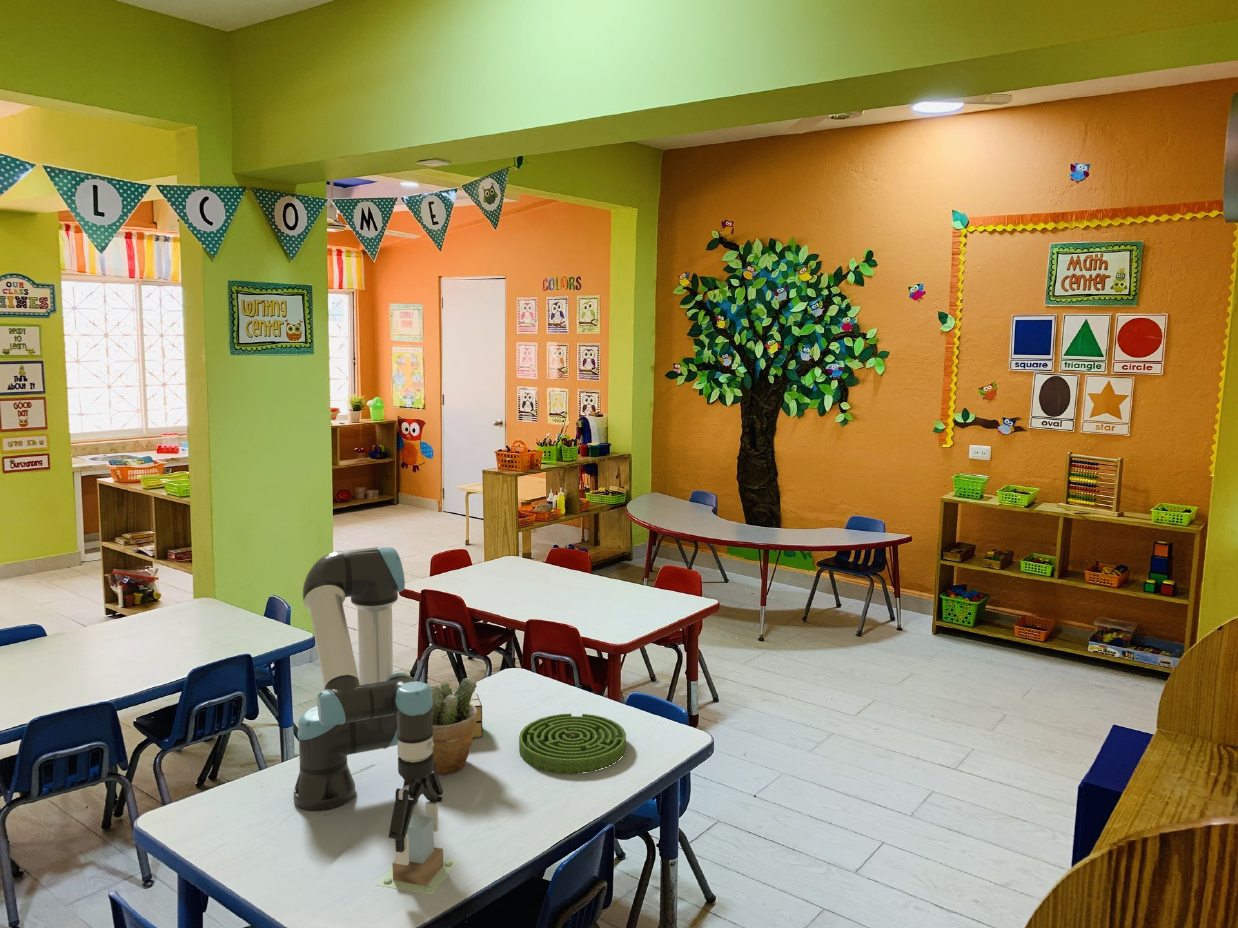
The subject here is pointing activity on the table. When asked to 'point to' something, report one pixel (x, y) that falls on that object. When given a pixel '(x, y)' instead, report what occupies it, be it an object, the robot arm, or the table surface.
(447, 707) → the potted plant
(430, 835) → the column brick
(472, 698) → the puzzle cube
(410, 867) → the base brick
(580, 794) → the table surface
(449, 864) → the plate
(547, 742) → the maze
